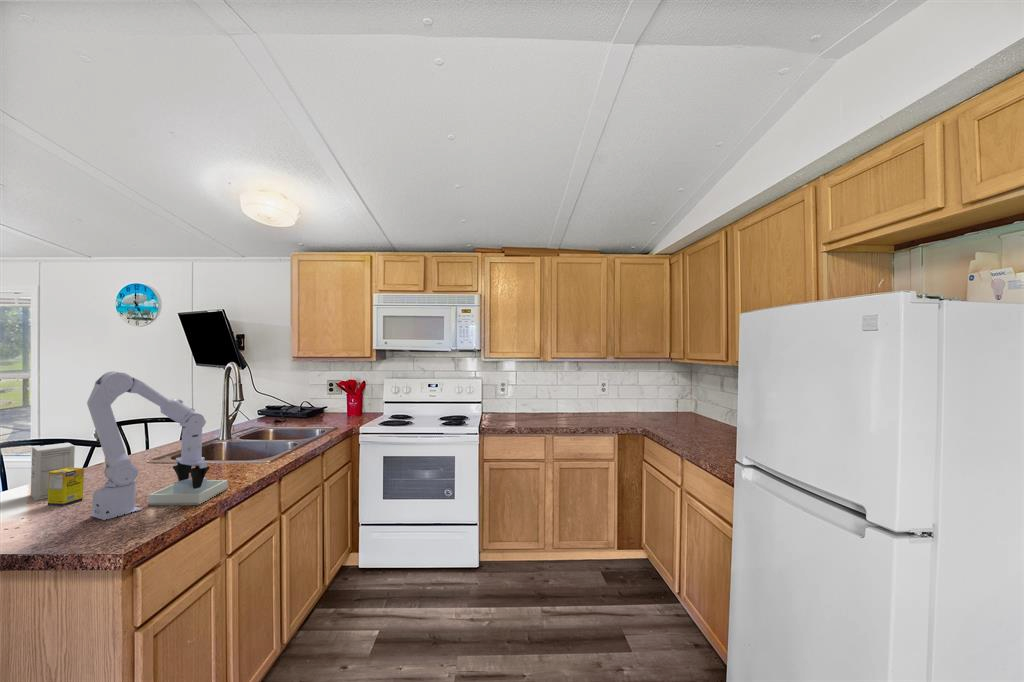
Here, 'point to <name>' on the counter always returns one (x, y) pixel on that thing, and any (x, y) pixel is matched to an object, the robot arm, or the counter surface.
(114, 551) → the counter surface
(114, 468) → the robot arm
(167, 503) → the pale green tray
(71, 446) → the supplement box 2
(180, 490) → the small crate
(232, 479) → the counter surface
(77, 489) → the supplement box
